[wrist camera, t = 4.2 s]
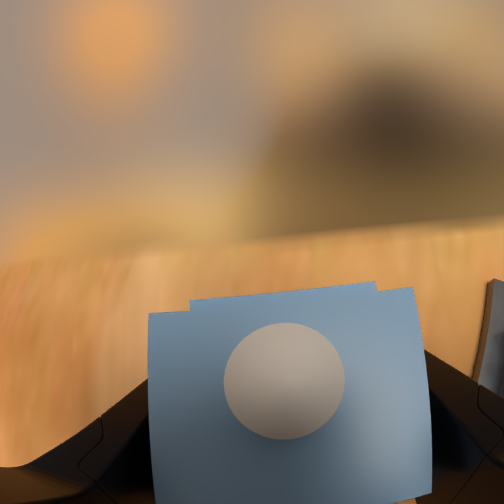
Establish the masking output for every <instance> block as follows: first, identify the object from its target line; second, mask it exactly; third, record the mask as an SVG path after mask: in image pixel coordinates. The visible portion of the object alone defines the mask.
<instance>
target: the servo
mask: <svg viewBox="0 0 504 504" xmlns="http://www.w3.org/2000/svg"><path fill="white" fill-rule="evenodd" d="M148 408H149V431H150V448H151V461H152V473H153V484H154V493H155V502H156V504H393V503H397V502H401V501H405V500H408V499H412V498H416V497H419V496H422V495H426V494H429V493H431V492H432V434H431V414H430V401H429V389H428V379H427V370H426V362H425V354H424V347H423V340H422V334H421V328H420V322H419V316H418V311H417V305H416V300H415V295H414V290H413V287H407V288H400V289H394V290H387V291H380V292H377V289H376V283H375V281H372V282H365V283H357V284H349V285H341V286H332V287H324V288H315V289H306V290H297V291H288V292H278V293H268V294H258V295H247V296H236V297H224V298H212V299H200V300H190V311H181V312H163V313H149V320H148Z"/></svg>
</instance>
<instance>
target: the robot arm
mask: <svg viewBox="0 0 504 504" xmlns="http://www.w3.org/2000/svg"><path fill="white" fill-rule="evenodd" d="M424 354H425V362H426V370H427V379H428V389H429V401H430V414H431V434H432V492H431V493H429V494H426V495H422V496H419V497H416V498H415V499H416V503H417V504H504V398H503V397H501V396H499V395H498V394H496V393H494V392H493V391H491V390H489V389H488V388H486V387H484V386H483V385H481V384H480V385H479V383H478V382H476V381H475V380H473V379H471V378H470V377H468V376H466V375H465V374H463V373H462V372H460V371H458V370H457V369H455V368H454V367H452V366H450V365H449V364H447V363H445V362H444V361H442V360H441V359H439V358H437V357H436V356H434V355H433V354H431V353H429V352H428V351H426V350H424ZM0 504H156V502H155V493H154V484H153V473H152V461H151V448H150V431H149V408H148V378H147V379H146V380H145V381H144V382H143V383H141V384H140V385H139V386H138V387H136V388H135V389H134V390H133V391H131V392H130V393H129V394H128V395H126V396H125V397H124V398H123V399H121V400H120V401H119V402H118V403H116V404H115V405H114V406H112V407H111V408H110V409H109V410H107V411H106V412H105V413H104V414H102V415H101V417H98V418H97V419H96V420H95V421H93V422H92V423H91V424H89V425H88V426H87V427H85V428H84V429H83V430H81V431H80V432H78V433H77V434H76V435H74V436H73V437H71V438H70V439H68V440H66V441H65V442H63V443H62V444H60V445H59V446H57V447H55V448H54V449H52V450H50V451H49V452H47V453H45V454H44V455H42V456H40V457H39V458H37V459H35V460H34V461H32V462H30V463H28V464H25V465H23V466H19V467H0Z"/></svg>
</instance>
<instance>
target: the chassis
mask: <svg viewBox="0 0 504 504" xmlns="http://www.w3.org/2000/svg"><path fill="white" fill-rule="evenodd" d="M472 379H473V380H475V381H476V382H478V383H479V385H480V384H481V385H483V386H484V387H486V388H488V389H489V390H491V391H493V392H494V393H496V394H498V395H499V396H501V397H503V398H504V282H503V281H500V280H497V279H493V280H491V281H490V282H489V283H488V284H487V294H486V303H485V311H484V318H483V325H482V331H481V337H480V342H479V348H478V353H477V358H476V362H475V367H474V371H473V375H472Z"/></svg>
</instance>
